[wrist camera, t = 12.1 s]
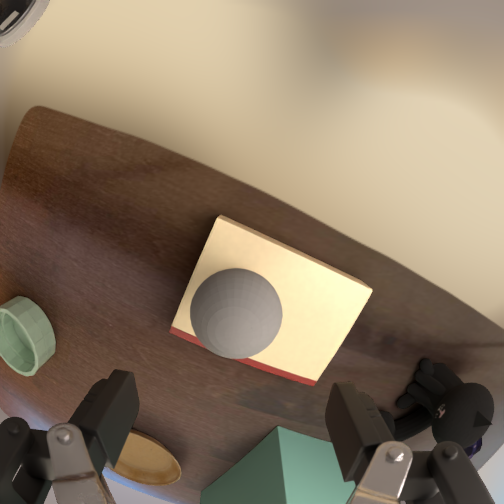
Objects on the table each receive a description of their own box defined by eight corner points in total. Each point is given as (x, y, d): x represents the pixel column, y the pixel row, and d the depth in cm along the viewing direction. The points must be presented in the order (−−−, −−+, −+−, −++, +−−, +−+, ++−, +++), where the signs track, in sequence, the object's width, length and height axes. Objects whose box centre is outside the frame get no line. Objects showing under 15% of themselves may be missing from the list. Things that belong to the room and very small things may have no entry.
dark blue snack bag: (491, 411, 36) (500, 421, 32) (473, 450, 39) (481, 460, 35) (458, 431, 36) (467, 443, 32) (443, 468, 39) (450, 479, 35)
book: (175, 319, 30) (168, 332, 26) (220, 214, 27) (217, 217, 24) (308, 370, 31) (313, 386, 28) (361, 280, 29) (373, 290, 26)
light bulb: (238, 233, 25) (232, 261, 15) (287, 281, 26) (309, 334, 16) (191, 281, 25) (160, 332, 16) (239, 324, 26) (235, 392, 17)
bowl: (4, 291, 29) (-18, 302, 24) (49, 299, 29) (26, 314, 24) (19, 350, 31) (1, 365, 26) (64, 364, 31) (46, 383, 26)
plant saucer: (85, 440, 34) (79, 450, 32) (113, 402, 32) (107, 414, 30) (158, 482, 36) (155, 493, 34) (202, 454, 34) (200, 466, 32)
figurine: (405, 343, 31) (472, 417, 16) (467, 356, 32) (525, 409, 17) (348, 434, 34) (378, 513, 19) (414, 434, 35) (450, 495, 20)
